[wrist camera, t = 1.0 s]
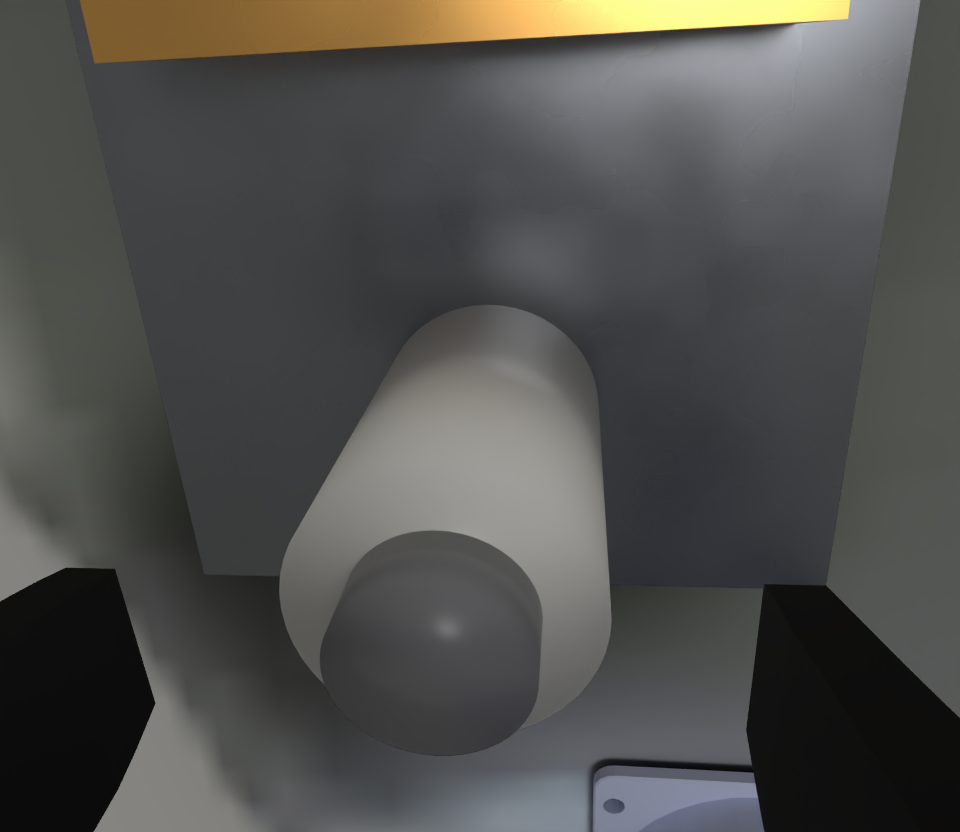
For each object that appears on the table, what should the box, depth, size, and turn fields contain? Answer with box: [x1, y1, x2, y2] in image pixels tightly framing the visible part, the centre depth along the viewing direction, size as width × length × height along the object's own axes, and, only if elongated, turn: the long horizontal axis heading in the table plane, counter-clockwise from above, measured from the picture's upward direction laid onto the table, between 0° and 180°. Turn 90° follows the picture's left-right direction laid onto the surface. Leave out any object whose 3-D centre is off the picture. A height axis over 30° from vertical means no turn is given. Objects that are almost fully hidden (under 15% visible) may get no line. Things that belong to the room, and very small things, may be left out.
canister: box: [279, 305, 612, 756], centre depth 12 cm, size 4×4×7 cm
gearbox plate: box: [66, 0, 920, 588], centre depth 12 cm, size 20×13×4 cm, turn 3°
